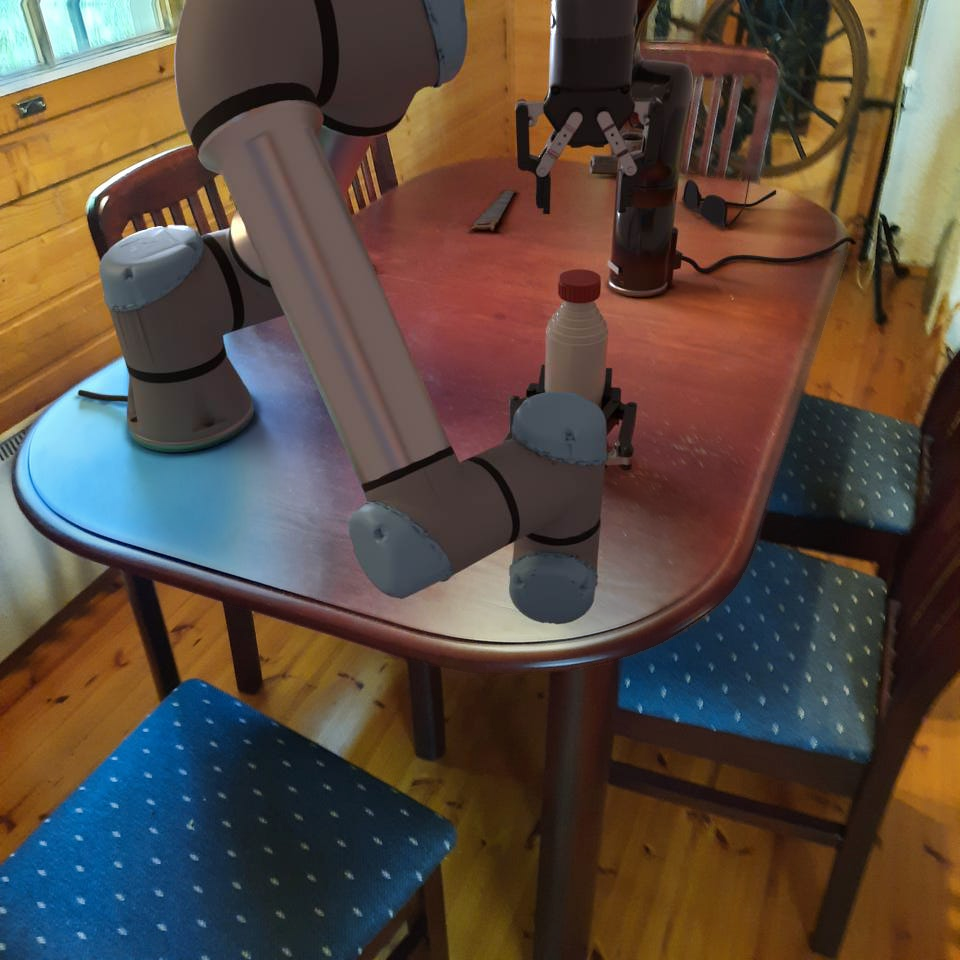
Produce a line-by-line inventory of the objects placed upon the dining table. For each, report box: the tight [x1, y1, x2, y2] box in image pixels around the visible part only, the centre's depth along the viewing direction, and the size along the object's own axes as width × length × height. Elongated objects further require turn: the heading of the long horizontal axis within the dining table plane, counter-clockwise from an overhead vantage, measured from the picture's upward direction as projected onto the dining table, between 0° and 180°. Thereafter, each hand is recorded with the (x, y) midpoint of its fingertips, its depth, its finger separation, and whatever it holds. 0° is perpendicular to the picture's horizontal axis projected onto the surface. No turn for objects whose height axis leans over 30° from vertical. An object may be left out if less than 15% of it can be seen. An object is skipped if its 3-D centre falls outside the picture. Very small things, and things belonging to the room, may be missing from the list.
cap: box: [557, 268, 602, 303], centre depth 90 cm, size 4×4×2 cm
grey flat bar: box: [470, 189, 515, 232], centre depth 168 cm, size 24×5×1 cm, turn 168°
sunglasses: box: [681, 175, 777, 228], centre depth 163 cm, size 17×14×5 cm
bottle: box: [544, 300, 610, 410], centre depth 96 cm, size 7×7×21 cm
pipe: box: [589, 131, 644, 176], centre depth 181 cm, size 6×13×8 cm, turn 95°
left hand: (576, 376), depth 103 cm, fingers closed on bottle, 7 cm apart
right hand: (583, 211), depth 86 cm, fingers open, 7 cm apart
